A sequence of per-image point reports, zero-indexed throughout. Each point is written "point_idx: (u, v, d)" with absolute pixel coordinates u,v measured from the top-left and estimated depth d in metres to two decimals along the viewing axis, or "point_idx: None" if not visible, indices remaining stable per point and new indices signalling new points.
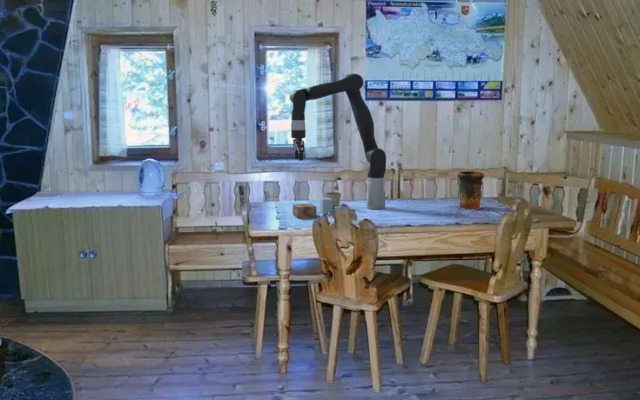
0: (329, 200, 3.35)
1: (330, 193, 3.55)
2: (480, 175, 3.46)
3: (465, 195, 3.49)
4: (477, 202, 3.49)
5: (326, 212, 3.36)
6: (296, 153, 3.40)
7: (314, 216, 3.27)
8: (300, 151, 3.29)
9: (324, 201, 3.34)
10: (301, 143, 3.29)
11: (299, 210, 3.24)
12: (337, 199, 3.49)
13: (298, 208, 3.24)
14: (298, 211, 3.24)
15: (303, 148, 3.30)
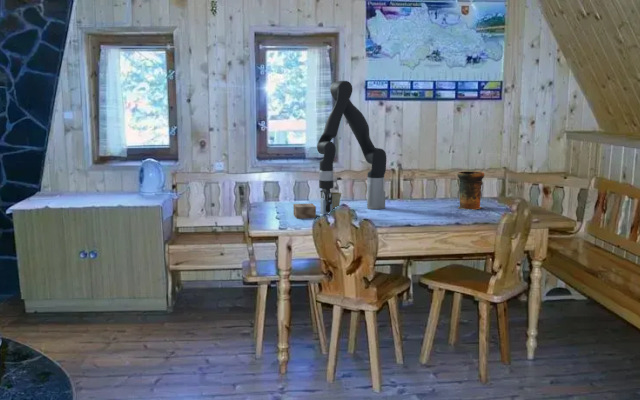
0: None
1: None
2: (480, 175, 3.46)
3: (465, 195, 3.49)
4: (477, 202, 3.49)
5: (326, 212, 3.36)
6: None
7: (313, 216, 3.27)
8: (327, 203, 3.32)
9: (324, 201, 3.34)
10: (329, 196, 3.30)
11: (298, 210, 3.25)
12: (337, 199, 3.49)
13: (297, 208, 3.24)
14: (297, 211, 3.25)
15: (331, 201, 3.32)
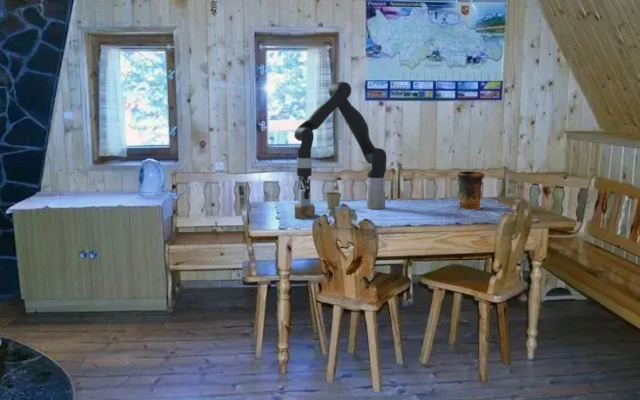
0: None
1: (330, 193, 3.55)
2: (480, 175, 3.46)
3: (465, 195, 3.49)
4: (477, 202, 3.49)
5: (304, 204, 3.27)
6: None
7: (312, 217, 3.26)
8: (306, 190, 3.22)
9: (302, 192, 3.26)
10: (307, 182, 3.21)
11: (297, 210, 3.25)
12: (337, 199, 3.49)
13: (296, 208, 3.25)
14: (296, 211, 3.25)
15: (309, 187, 3.22)
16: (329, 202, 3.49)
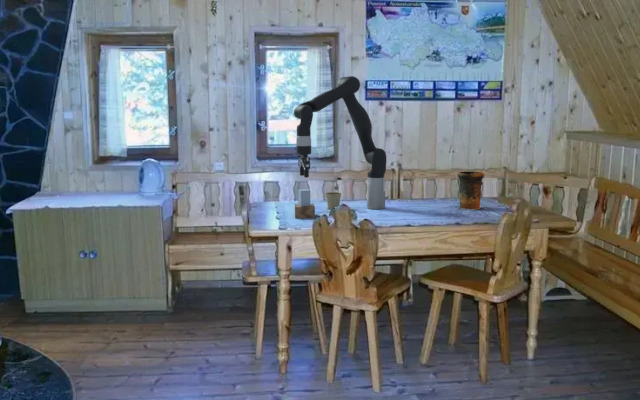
0: (307, 191, 3.27)
1: (330, 193, 3.55)
2: (480, 175, 3.46)
3: (465, 195, 3.49)
4: (477, 202, 3.49)
5: (304, 204, 3.27)
6: (301, 169, 3.31)
7: (312, 216, 3.26)
8: (306, 168, 3.20)
9: (302, 192, 3.26)
10: (307, 160, 3.19)
11: (297, 210, 3.25)
12: (337, 199, 3.49)
13: (296, 208, 3.25)
14: (296, 211, 3.25)
15: (309, 165, 3.20)
16: (329, 202, 3.49)
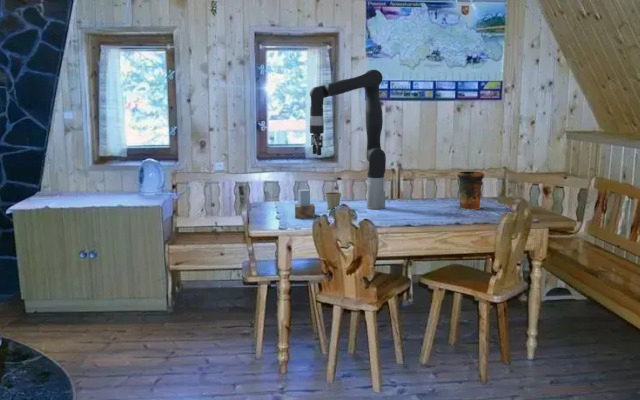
0: (307, 191, 3.27)
1: (330, 193, 3.55)
2: (480, 175, 3.46)
3: (465, 195, 3.49)
4: (477, 202, 3.49)
5: (304, 204, 3.27)
6: (314, 148, 3.50)
7: (312, 217, 3.26)
8: (319, 146, 3.39)
9: (301, 192, 3.26)
10: (320, 138, 3.38)
11: (297, 210, 3.25)
12: (337, 199, 3.49)
13: (296, 208, 3.25)
14: (296, 211, 3.25)
15: (321, 143, 3.39)
16: (329, 202, 3.49)
